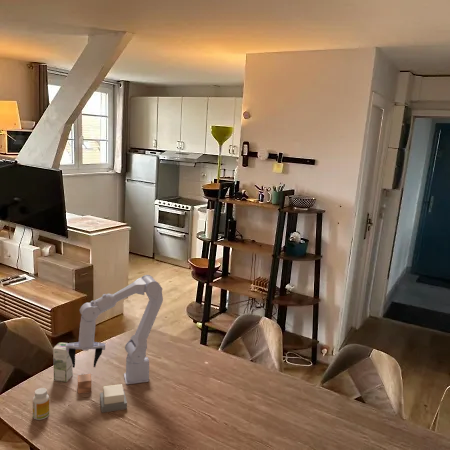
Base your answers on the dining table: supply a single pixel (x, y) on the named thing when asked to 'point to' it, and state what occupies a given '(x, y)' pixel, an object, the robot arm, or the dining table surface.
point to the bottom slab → (112, 404)
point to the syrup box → (62, 363)
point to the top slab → (113, 394)
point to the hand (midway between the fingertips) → (84, 366)
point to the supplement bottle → (40, 404)
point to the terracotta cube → (84, 383)
